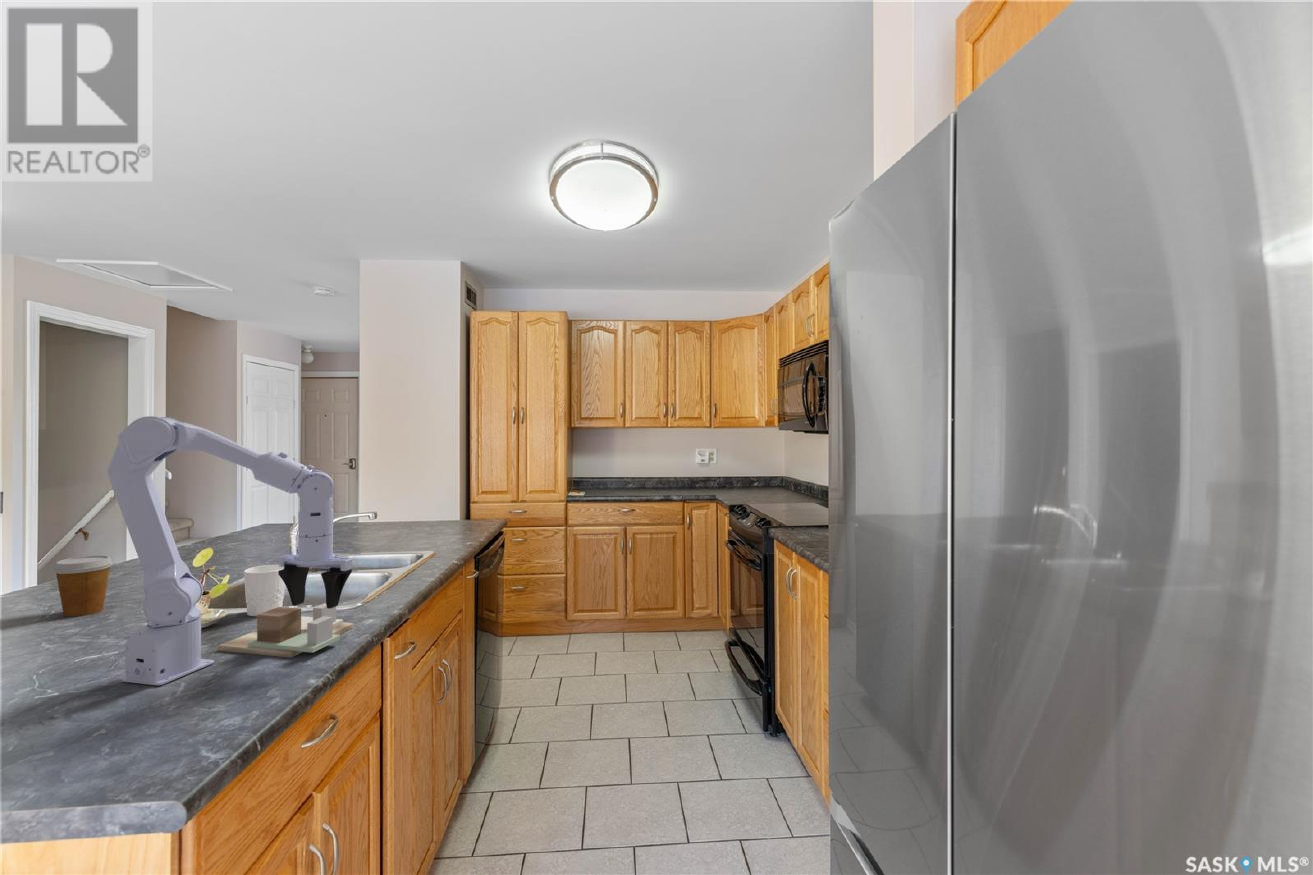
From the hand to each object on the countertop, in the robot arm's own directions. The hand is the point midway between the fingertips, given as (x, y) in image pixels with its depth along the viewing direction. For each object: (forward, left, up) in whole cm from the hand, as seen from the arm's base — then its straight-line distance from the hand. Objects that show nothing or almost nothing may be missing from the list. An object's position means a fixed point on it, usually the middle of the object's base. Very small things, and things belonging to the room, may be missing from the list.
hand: (315, 605), depth 108 cm
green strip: (0, +4, -7) cm, 8 cm away
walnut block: (0, +8, -7) cm, 10 cm away
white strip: (+8, +10, -7) cm, 15 cm away
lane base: (+4, +9, -8) cm, 13 cm away
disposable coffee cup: (+8, +67, -9) cm, 68 cm away
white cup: (+17, +28, -9) cm, 34 cm away
